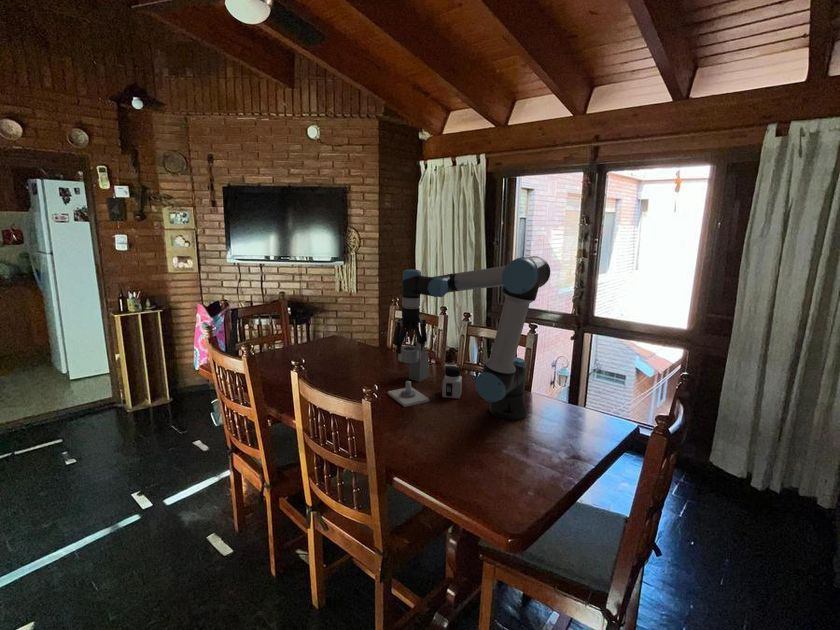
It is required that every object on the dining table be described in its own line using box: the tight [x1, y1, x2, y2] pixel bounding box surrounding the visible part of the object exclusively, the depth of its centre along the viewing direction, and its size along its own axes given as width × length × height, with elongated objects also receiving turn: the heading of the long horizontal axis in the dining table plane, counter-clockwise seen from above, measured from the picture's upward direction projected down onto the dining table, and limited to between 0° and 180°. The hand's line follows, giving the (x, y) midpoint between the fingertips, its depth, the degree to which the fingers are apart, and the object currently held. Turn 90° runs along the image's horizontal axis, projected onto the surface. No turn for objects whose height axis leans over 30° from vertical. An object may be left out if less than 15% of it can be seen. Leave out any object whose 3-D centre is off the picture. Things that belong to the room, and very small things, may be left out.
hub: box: [402, 345, 419, 364], centre depth 187 cm, size 8×8×5 cm
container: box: [441, 365, 463, 399], centre depth 195 cm, size 8×8×13 cm
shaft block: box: [387, 380, 430, 408], centre depth 191 cm, size 16×12×7 cm
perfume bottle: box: [408, 341, 429, 383], centre depth 214 cm, size 7×7×18 cm
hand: (409, 359), depth 187 cm, fingers closed on hub, 8 cm apart
